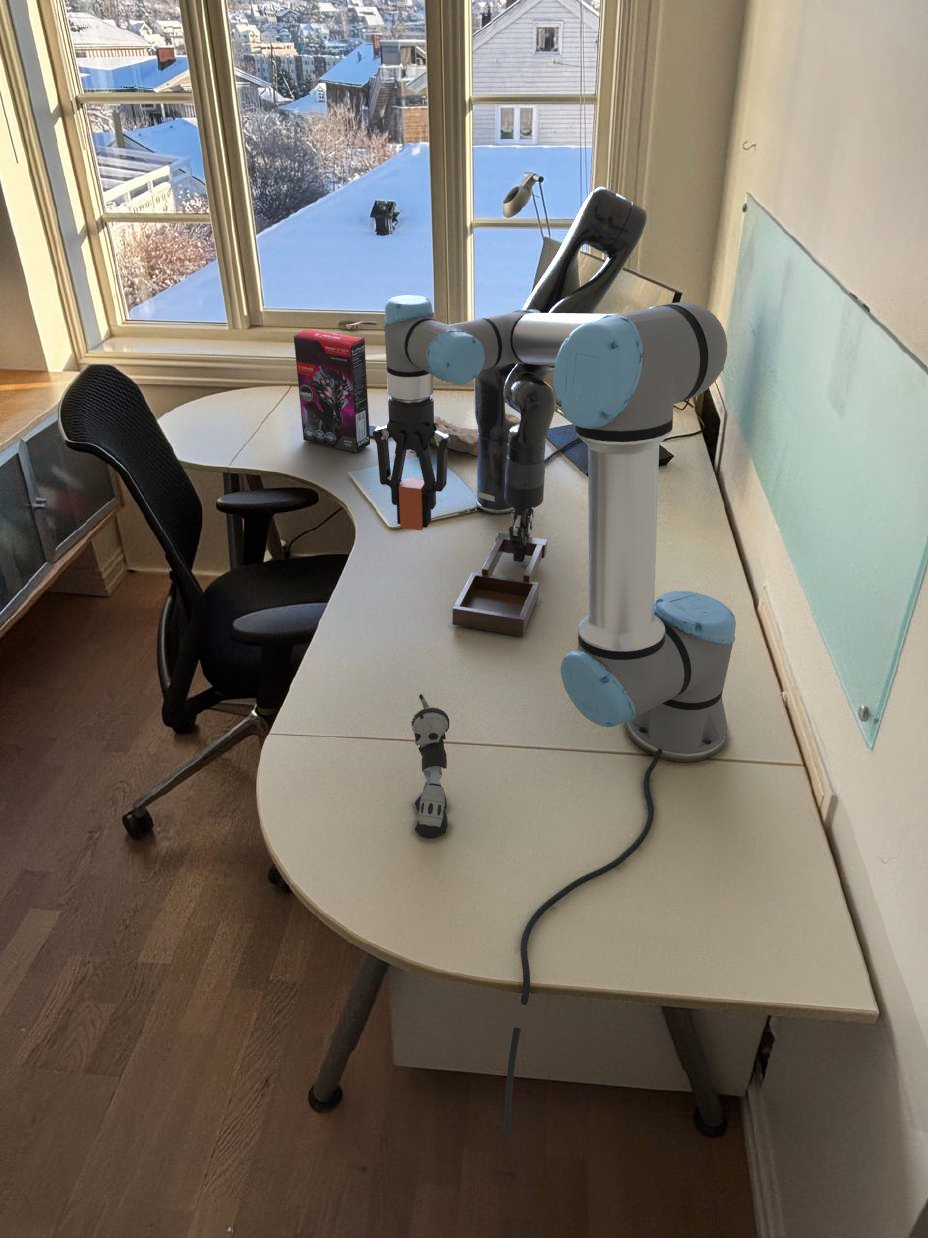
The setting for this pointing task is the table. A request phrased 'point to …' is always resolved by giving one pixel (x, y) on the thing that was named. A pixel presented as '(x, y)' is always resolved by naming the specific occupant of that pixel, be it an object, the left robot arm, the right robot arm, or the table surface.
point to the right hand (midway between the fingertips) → (414, 522)
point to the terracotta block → (411, 503)
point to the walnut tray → (501, 592)
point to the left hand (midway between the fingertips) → (520, 556)
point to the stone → (458, 436)
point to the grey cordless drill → (431, 769)
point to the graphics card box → (333, 389)
